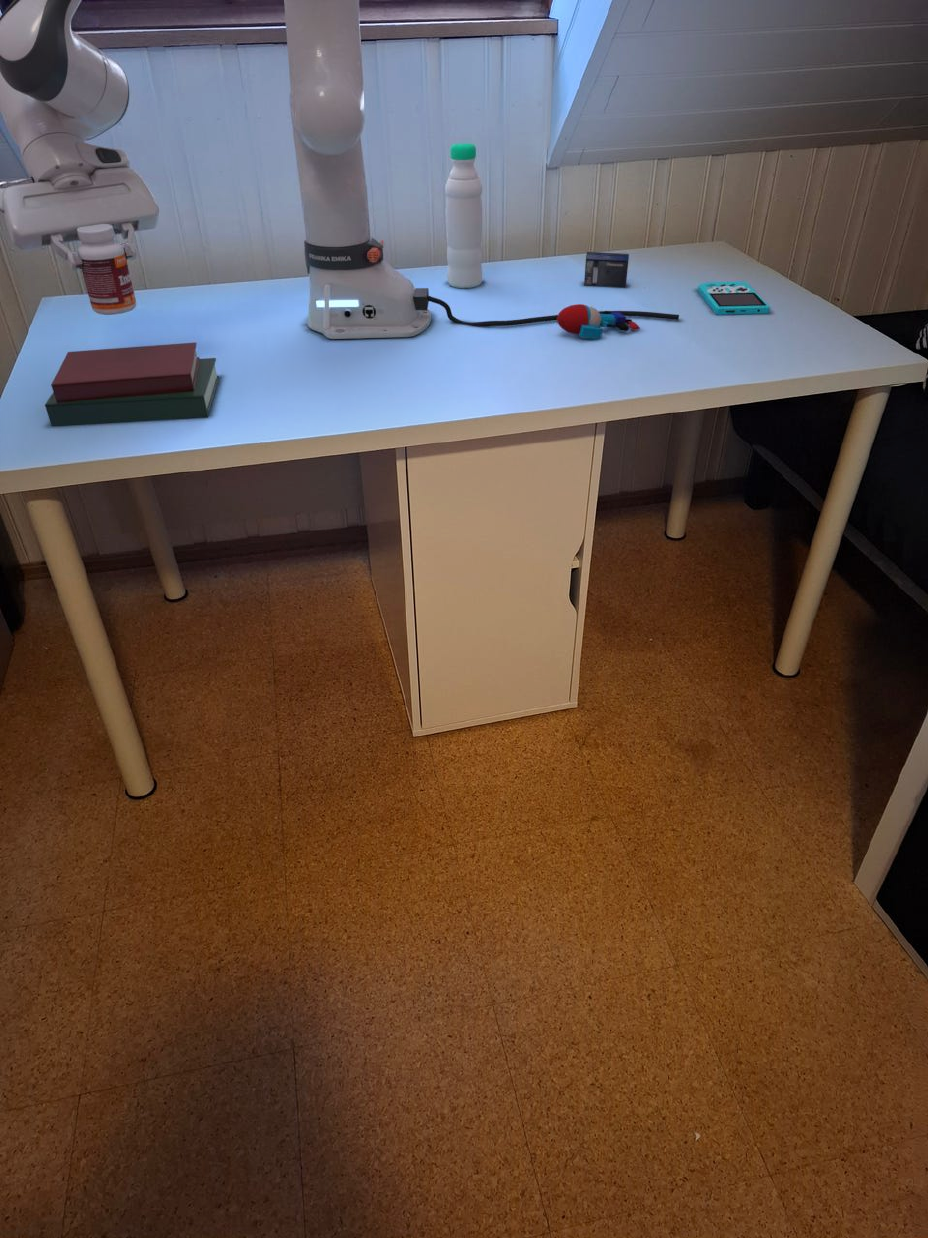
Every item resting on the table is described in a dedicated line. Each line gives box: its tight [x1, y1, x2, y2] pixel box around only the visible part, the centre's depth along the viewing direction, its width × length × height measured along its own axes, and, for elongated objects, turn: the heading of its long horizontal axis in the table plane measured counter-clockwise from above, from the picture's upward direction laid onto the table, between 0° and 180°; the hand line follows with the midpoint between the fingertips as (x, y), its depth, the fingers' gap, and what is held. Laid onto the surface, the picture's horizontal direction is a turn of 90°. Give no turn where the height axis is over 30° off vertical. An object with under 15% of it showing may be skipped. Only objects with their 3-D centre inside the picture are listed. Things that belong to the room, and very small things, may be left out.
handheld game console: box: [697, 280, 771, 316], centre depth 164 cm, size 10×16×1 cm, turn 2°
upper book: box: [51, 341, 201, 402], centre depth 128 cm, size 19×13×3 cm
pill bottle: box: [77, 224, 137, 316], centre depth 122 cm, size 6×6×11 cm
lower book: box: [44, 357, 220, 427], centre depth 130 cm, size 22×15×3 cm
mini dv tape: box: [583, 251, 630, 289], centre depth 171 cm, size 8×2×6 cm, turn 77°
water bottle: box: [444, 142, 483, 289], centre depth 167 cm, size 7×7×25 cm
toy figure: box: [556, 303, 640, 340], centre depth 151 cm, size 8×5×15 cm
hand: (105, 262), depth 121 cm, fingers closed on pill bottle, 6 cm apart
